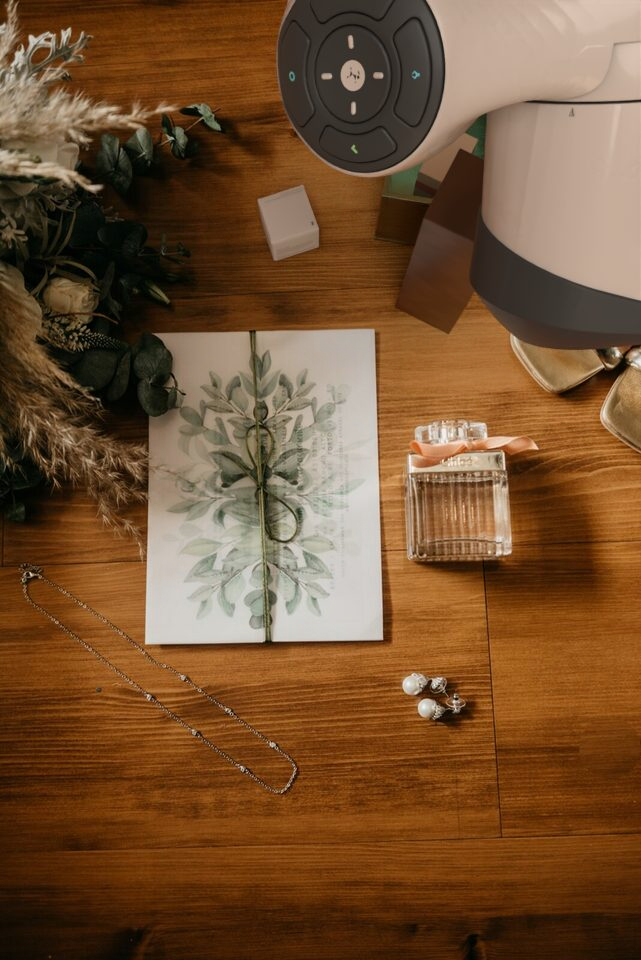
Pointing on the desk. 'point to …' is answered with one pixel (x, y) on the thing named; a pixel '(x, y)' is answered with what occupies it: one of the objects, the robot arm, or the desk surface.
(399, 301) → the plinth
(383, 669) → the desk surface
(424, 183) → the packet
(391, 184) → the bin
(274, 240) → the small box
